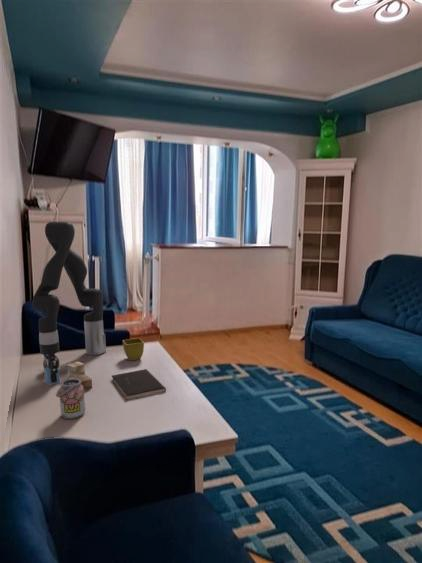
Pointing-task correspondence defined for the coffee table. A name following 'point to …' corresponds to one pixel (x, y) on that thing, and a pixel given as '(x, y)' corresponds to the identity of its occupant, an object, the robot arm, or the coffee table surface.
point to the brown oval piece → (57, 360)
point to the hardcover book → (138, 383)
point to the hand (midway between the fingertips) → (52, 379)
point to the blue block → (48, 376)
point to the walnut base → (84, 381)
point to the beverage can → (71, 398)
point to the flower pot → (133, 348)
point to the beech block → (75, 369)
